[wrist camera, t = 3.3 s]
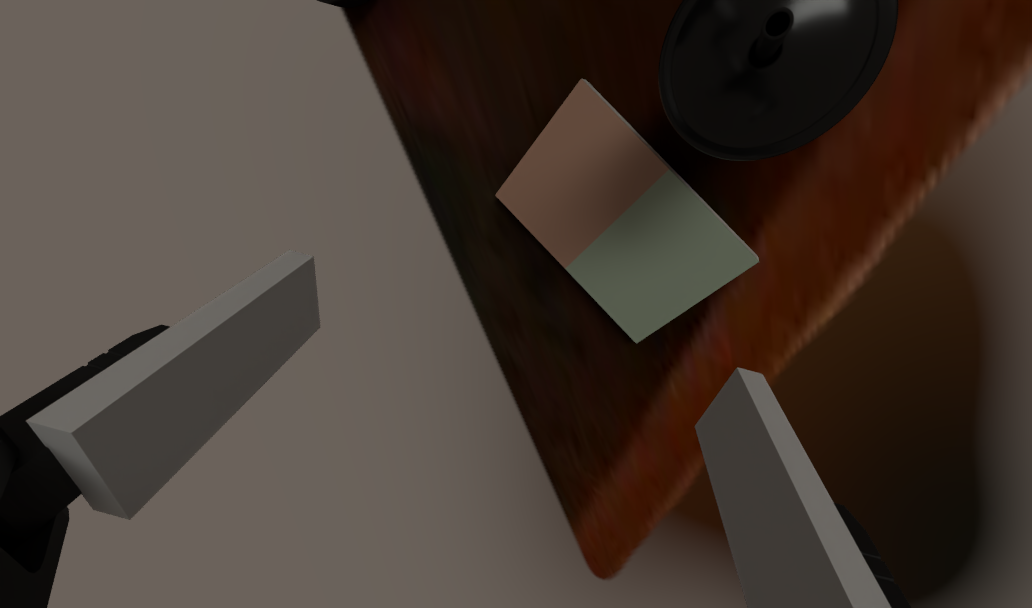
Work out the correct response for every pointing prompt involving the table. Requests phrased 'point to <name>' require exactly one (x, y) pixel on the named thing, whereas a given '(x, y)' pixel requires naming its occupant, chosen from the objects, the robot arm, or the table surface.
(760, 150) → the drinking cup
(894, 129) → the table surface
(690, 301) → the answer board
